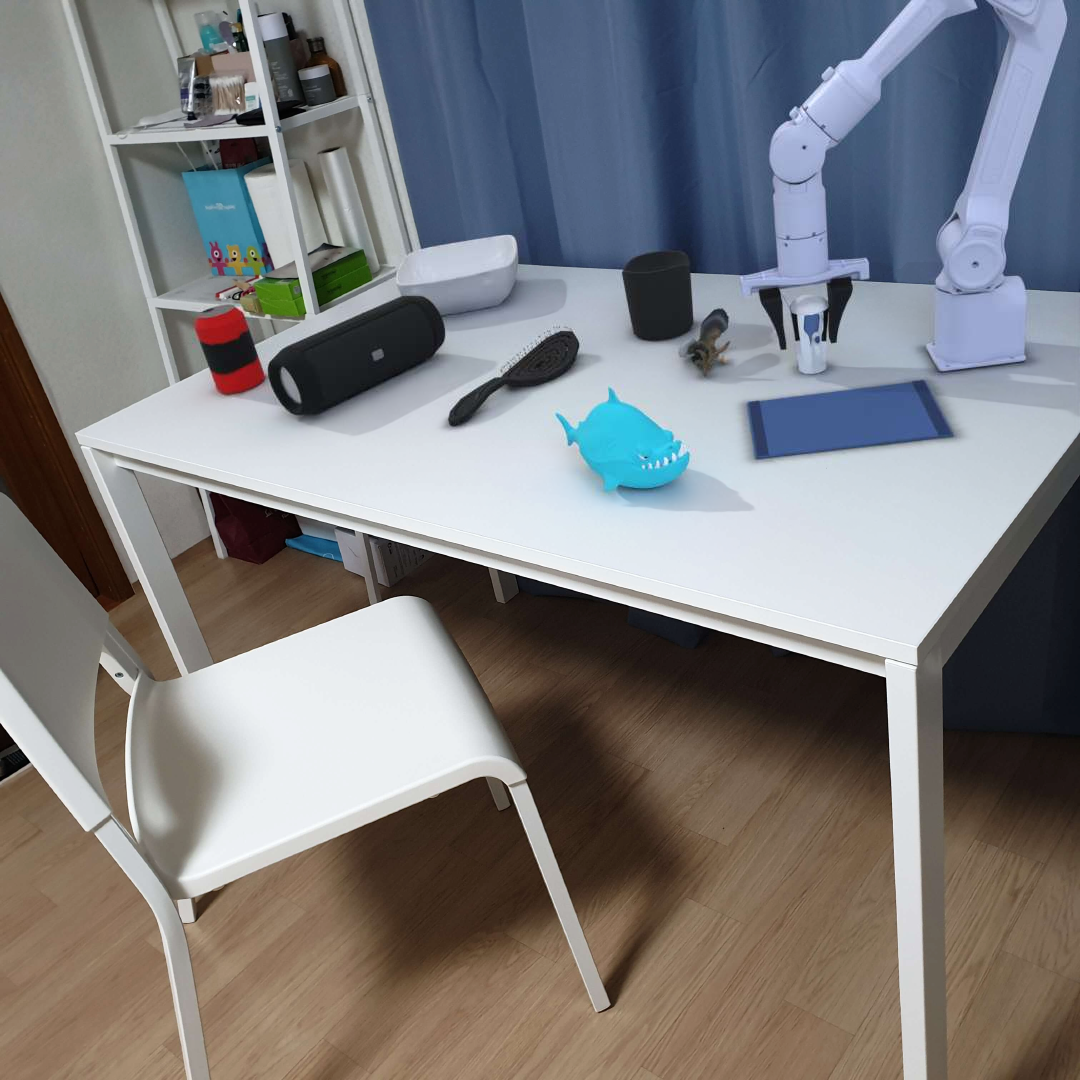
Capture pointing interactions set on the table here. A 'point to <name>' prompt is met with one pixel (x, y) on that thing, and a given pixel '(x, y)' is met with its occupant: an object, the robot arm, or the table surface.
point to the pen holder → (659, 294)
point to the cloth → (846, 419)
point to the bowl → (461, 274)
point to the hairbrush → (523, 372)
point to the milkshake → (810, 331)
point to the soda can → (229, 349)
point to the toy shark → (627, 446)
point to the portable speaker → (356, 355)
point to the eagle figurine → (708, 340)
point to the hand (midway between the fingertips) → (807, 343)
